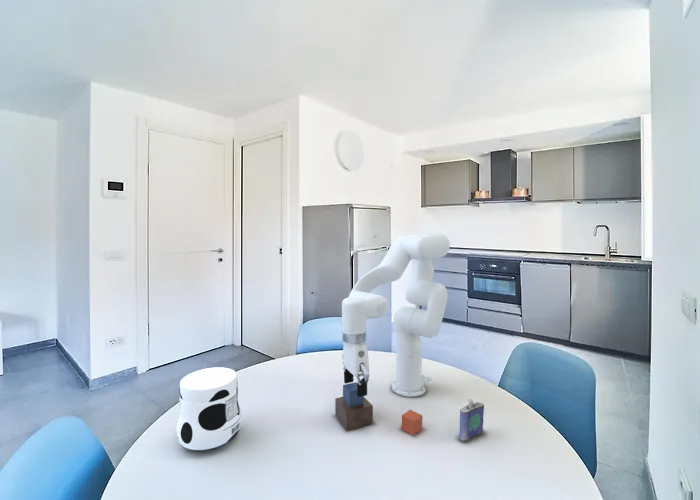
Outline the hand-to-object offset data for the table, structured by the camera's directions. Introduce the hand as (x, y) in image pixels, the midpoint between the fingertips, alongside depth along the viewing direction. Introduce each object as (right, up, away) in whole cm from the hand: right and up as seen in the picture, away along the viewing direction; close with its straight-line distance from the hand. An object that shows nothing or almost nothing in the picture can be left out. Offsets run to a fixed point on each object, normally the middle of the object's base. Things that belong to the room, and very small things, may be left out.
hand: (355, 388), depth 108 cm
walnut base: (-1, -10, 0) cm, 10 cm away
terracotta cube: (+17, -10, -5) cm, 21 cm away
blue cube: (-1, -4, 0) cm, 4 cm away
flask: (+34, -11, -8) cm, 37 cm away
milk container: (-42, -11, -9) cm, 45 cm away
